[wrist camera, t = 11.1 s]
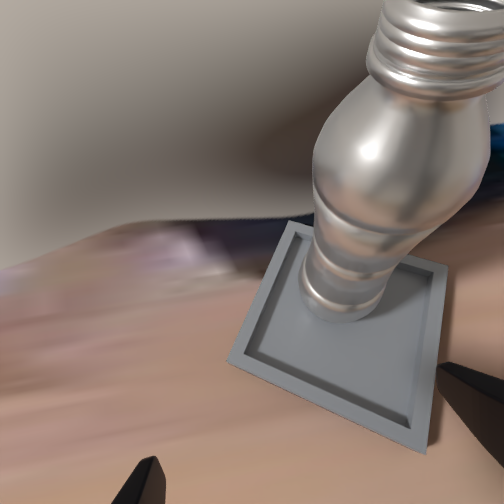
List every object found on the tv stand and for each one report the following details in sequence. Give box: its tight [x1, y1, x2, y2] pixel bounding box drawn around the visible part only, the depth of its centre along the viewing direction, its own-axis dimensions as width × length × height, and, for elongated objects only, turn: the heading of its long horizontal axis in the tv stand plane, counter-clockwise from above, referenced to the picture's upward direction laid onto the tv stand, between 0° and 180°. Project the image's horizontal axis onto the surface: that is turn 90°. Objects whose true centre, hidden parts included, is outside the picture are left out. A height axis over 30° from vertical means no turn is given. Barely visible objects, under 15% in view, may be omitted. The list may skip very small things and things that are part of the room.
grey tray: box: [226, 220, 448, 455], centre depth 22 cm, size 14×14×2 cm
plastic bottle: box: [298, 0, 504, 324], centre depth 15 cm, size 6×7×20 cm
